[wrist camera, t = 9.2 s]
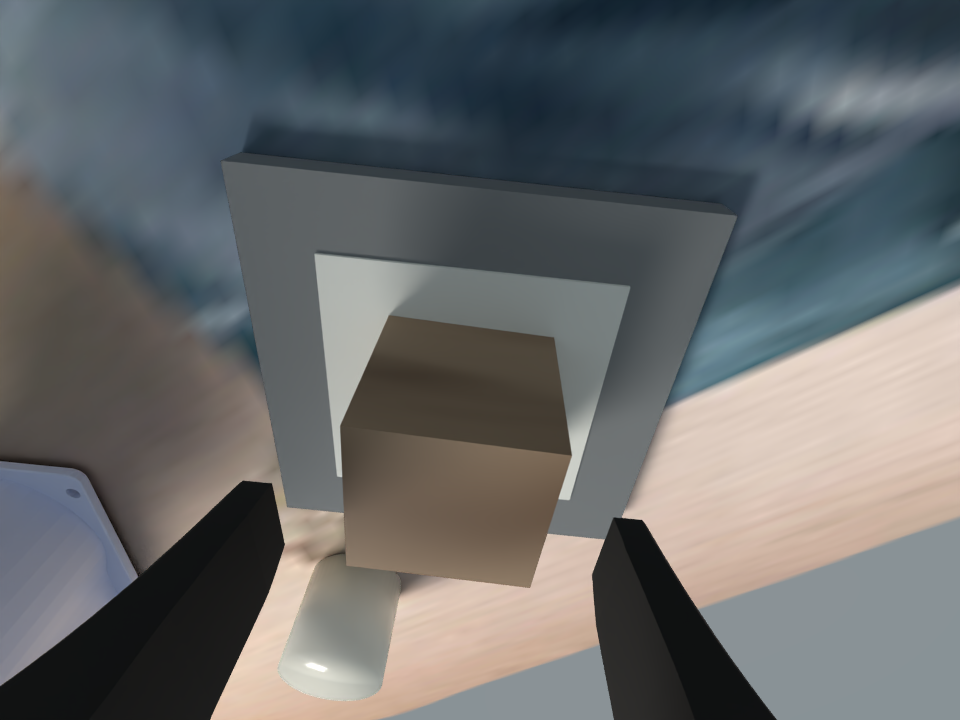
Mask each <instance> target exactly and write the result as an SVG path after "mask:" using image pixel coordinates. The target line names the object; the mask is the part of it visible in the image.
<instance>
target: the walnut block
mask: <svg viewBox="0 0 960 720" xmlns="http://www.w3.org/2000/svg"><path fill="white" fill-rule="evenodd" d="M340 438H341V460H342V483H343V505H344V527H345V550H346V566H354V567H362V568H370V569H378V570H387V571H395V572H403V573H411V574H420V575H428V576H436V577H444V578H453V579H461V580H469V581H477V582H486V583H494V584H502V585H510V586H519V587H527V588H530V586H531V583H532V580H533V577H534V573H535V570H536V567H537V564H538V561H539V558H540V555H541V552H542V548H543V545H544V542H545V539H546V536H547V533H548V530H549V527H550V523H551V520H552V517H553V514H554V511H555V508H556V505H557V501H558V498H559V495H560V492H561V489H562V486H563V483H564V480H565V476H566V473H567V470H568V467H569V464H570V461H571V458H572V452H571V445H570V439H569V432H568V425H567V419H566V412H565V406H564V399H563V392H562V386H561V379H560V373H559V366H558V359H557V353H556V346H555V340H554V337H547V336H539V335H532V334H525V333H517V332H510V331H502V330H495V329H488V328H480V327H473V326H465V325H458V324H451V323H443V322H436V321H428V320H421V319H414V318H406V317H399V316H392V315H389V316H388V318H387V321H386V323H385V325H384V327H383V330H382V332H381V334H380V336H379V339H378V341H377V343H376V345H375V348H374V350H373V352H372V354H371V357H370V359H369V361H368V364H367V366H366V368H365V370H364V373H363V375H362V377H361V379H360V382H359V384H358V386H357V388H356V391H355V393H354V395H353V397H352V400H351V402H350V404H349V407H348V409H347V411H346V413H345V416H344V418H343V420H342V422H341V425H340Z"/></svg>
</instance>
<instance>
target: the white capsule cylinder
mask: <svg viewBox="0 0 960 720" xmlns="http://www.w3.org/2000/svg"><path fill="white" fill-rule="evenodd" d="M400 591H401V581H400V578H399V576H398V575H397V573H396V572H395V571H387V570H378V569H370V568H362V567H354V566H346V554H337V555H332V556H329V557H327V558H324V559H323V560H321V561H320V562H319V563H318V564H317V565H316V566H315V568H314V570H313V573H312V576H311V578H310V581H309V584H308V586H307V589H306V592H305V594H304V597H303V600H302V603H301V605H300V608H299V611H298V613H297V616H296V619H295V621H294V624H293V627H292V629H291V632H290V635H289V638H288V640H287V643H286V646H285V648H284V651H283V654H282V656H281V659H280V662H279V665H278V673H279V675H280V677H281V678H282V679H283V681H284V682H286V683H287V684H288V685H289V686H291V687H292V688H294V689H296V690H298V691H300V692H302V693H305V694H307V695H310V696H314V697H317V698H321V699H327V700H335V701H354V700H360V699H365V698H368V697H370V696H372V695H374V694H376V693H377V692H378V691H379V690H380V688H381V686H382V682H383V677H384V672H385V667H386V662H387V657H388V651H389V646H390V641H391V636H392V631H393V626H394V621H395V616H396V611H397V606H398V601H399V596H400Z"/></svg>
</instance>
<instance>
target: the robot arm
mask: <svg viewBox="0 0 960 720" xmlns="http://www.w3.org/2000/svg"><path fill="white" fill-rule="evenodd" d="M284 546H285V543H284V539H283V534H282V529H281V524H280V519H279V515H278V510H277V505H276V500H275V495H274V491H273V486H272V483H262V482H252V481H242V482H241V483H239V484H238V485H237V486H236V487H235V488H234V489H233V490H232V491H231V492H230V493H229V494H227V495H226V496H225V497H224V498H223V499H222V500H221V501H220V502H219V503H218V504H217V505H216V506H215V507H214V508H213V509H212V510H211V511H210V512H209V513H208V514H207V515H206V516H204V517H203V518H202V519H201V520H200V521H199V522H198V523H197V524H196V525H195V526H194V527H193V528H192V529H191V530H190V531H189V532H187V533H186V534H185V535H184V536H183V537H182V538H181V539H180V540H179V541H178V542H177V543H176V544H174V545H173V546H172V547H171V548H170V549H169V550H168V551H167V552H166V553H164V554H163V555H162V556H161V557H160V558H159V559H158V560H157V561H156V562H155V563H153V564H152V565H151V566H150V567H149V568H148V569H147V570H146V571H145V572H143V573H142V574H141V575H140V576H139V577H138V575H137V573H136V571H135V569H134V567H133V566H132V564H131V562H130V560H129V558H128V556H127V554H126V552H125V550H124V548H123V546H122V544H121V542H120V540H119V538H118V536H117V534H116V532H115V530H114V528H113V526H112V524H111V522H110V520H109V518H108V516H107V514H106V512H105V510H104V508H103V506H102V505H101V503H100V501H99V499H98V497H97V495H96V493H95V491H94V489H93V487H92V485H91V483H90V481H89V479H88V477H87V476H86V475H85V474H84V473H83V472H81V471H79V470H77V469H73V468H63V467H54V466H44V465H34V464H24V463H14V462H5V461H0V720H210V719H211V716H212V714H213V712H214V709H215V707H216V705H217V703H218V701H219V699H220V697H221V694H222V692H223V690H224V688H225V686H226V684H227V682H228V679H229V677H230V675H231V673H232V671H233V669H234V667H235V665H236V662H237V660H238V658H239V656H240V654H241V652H242V650H243V647H244V645H245V643H246V641H247V639H248V637H249V635H250V633H251V630H252V628H253V626H254V624H255V622H256V620H257V617H258V615H259V613H260V611H261V609H262V607H263V604H264V602H265V600H266V598H267V595H268V593H269V590H270V587H271V585H272V582H273V579H274V576H275V573H276V570H277V567H278V564H279V561H280V558H281V555H282V552H283V549H284ZM592 580H593V594H594V606H595V617H596V627H597V632H598V638H599V643H600V649H601V654H602V659H603V665H604V670H605V675H606V680H607V685H608V691H609V696H610V700H611V706H612V711H613V717H614V720H777V719H776V718H775V717H774V716H773V714H772V713H771V712H770V711H769V709H768V708H767V707H766V705H765V704H764V703H763V701H762V700H761V699H760V697H759V696H758V695H757V693H756V692H755V691H754V689H753V688H752V687H751V685H750V684H749V683H748V681H747V680H746V679H745V677H744V676H743V674H742V673H741V672H740V670H739V669H738V667H737V666H736V665H735V663H734V662H733V660H732V659H731V658H730V656H729V655H728V653H727V652H726V651H725V649H724V648H723V646H722V645H721V643H720V642H719V640H718V639H717V638H716V636H715V635H714V633H713V632H712V630H711V629H710V627H709V626H708V624H707V623H706V621H705V619H704V618H703V616H702V615H701V614H700V612H699V610H698V609H697V607H696V606H695V604H694V603H693V601H692V600H691V598H690V597H689V595H688V594H687V592H686V590H685V589H684V587H683V586H682V584H681V582H680V581H679V579H678V578H677V576H676V574H675V573H674V571H673V570H672V568H671V566H670V565H669V563H668V561H667V560H666V558H665V556H664V555H663V553H662V551H661V550H660V548H659V546H658V545H657V543H656V541H655V540H654V538H653V536H652V534H651V533H650V531H649V529H648V528H647V526H646V524H645V523H644V522H643V521H642V520H636V519H626V518H616V517H613V520H612V522H611V525H610V528H609V530H608V533H607V536H606V539H605V541H604V544H603V547H602V549H601V552H600V555H599V558H598V560H597V563H596V566H595V568H594V571H593V574H592Z"/></svg>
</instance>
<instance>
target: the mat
mask: <svg viewBox="0 0 960 720" xmlns="http://www.w3.org/2000/svg"><path fill="white" fill-rule="evenodd" d="M221 165H222V171H223V176H224V181H225V186H226V191H227V197H228V202H229V207H230V212H231V217H232V222H233V228H234V233H235V238H236V243H237V248H238V254H239V259H240V264H241V269H242V274H243V280H244V285H245V290H246V295H247V300H248V306H249V311H250V316H251V321H252V326H253V331H254V337H255V342H256V347H257V352H258V357H259V363H260V368H261V373H262V378H263V383H264V389H265V394H266V399H267V404H268V409H269V414H270V420H271V425H272V430H273V435H274V440H275V446H276V451H277V456H278V461H279V466H280V472H281V477H282V482H283V487H284V492H285V497H286V503H287V507H291V508H301V509H311V510H321V511H331V512H340V513H344V505H343V483H342V460H341V438H340V425H341V422H342V420H343V418H344V416H345V413H346V411H347V409H348V407H349V404H350V402H351V400H352V397H353V395H354V393H355V391H356V388H357V386H358V384H359V382H360V379H361V377H362V375H363V373H364V370H365V368H366V366H367V364H368V361H369V359H370V357H371V354H372V352H373V350H374V348H375V345H376V343H377V341H378V339H379V336H380V334H381V332H382V330H383V327H384V325H385V323H386V321H387V318H388V316H389V315H392V316H399V317H406V318H414V319H421V320H428V321H436V322H443V323H451V324H458V325H465V326H473V327H480V328H488V329H495V330H502V331H510V332H517V333H525V334H532V335H539V336H547V337H554V340H555V346H556V353H557V359H558V366H559V373H560V379H561V386H562V392H563V399H564V406H565V412H566V419H567V425H568V432H569V439H570V445H571V452H572V458H571V461H570V464H569V467H568V470H567V473H566V476H565V480H564V483H563V486H562V489H561V492H560V495H559V498H558V501H557V505H556V508H555V511H554V514H553V517H552V520H551V523H550V527H549V530H548V533H547V534H557V535H567V536H577V537H586V538H596V539H606V536H607V533H608V530H609V528H610V525H611V522H612V520H613V517H616V518H622V515H623V513H624V510H625V507H626V505H627V502H628V500H629V497H630V494H631V492H632V489H633V487H634V484H635V481H636V479H637V476H638V474H639V471H640V468H641V466H642V463H643V461H644V458H645V456H646V453H647V450H648V448H649V445H650V443H651V440H652V437H653V435H654V432H655V430H656V427H657V424H658V422H659V419H660V417H661V414H662V411H663V409H664V406H665V404H666V401H667V398H668V396H669V393H670V391H671V388H672V385H673V383H674V380H675V378H676V375H677V372H678V370H679V367H680V365H681V362H682V359H683V357H684V354H685V352H686V349H687V346H688V344H689V341H690V339H691V336H692V333H693V331H694V328H695V326H696V323H697V321H698V318H699V315H700V313H701V310H702V308H703V305H704V302H705V300H706V297H707V295H708V292H709V289H710V287H711V284H712V282H713V279H714V276H715V274H716V271H717V269H718V266H719V263H720V261H721V258H722V256H723V253H724V250H725V248H726V245H727V243H728V240H729V237H730V235H731V232H732V230H733V227H734V224H735V222H736V219H737V217H738V216H737V215H736V214H735V213H733V212H732V211H731V210H729V209H728V208H727V207H725V206H724V205H723V204H719V203H709V202H700V201H690V200H681V199H672V198H662V197H653V196H644V195H634V194H625V193H616V192H606V191H597V190H588V189H578V188H569V187H560V186H550V185H541V184H531V183H522V182H513V181H503V180H494V179H485V178H475V177H466V176H457V175H447V174H438V173H429V172H419V171H410V170H400V169H391V168H382V167H372V166H363V165H354V164H344V163H335V162H326V161H316V160H307V159H298V158H288V157H279V156H270V155H260V154H251V153H238V154H236V155H233V156H231V157H228V158H226V159H223V160H221Z"/></svg>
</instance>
